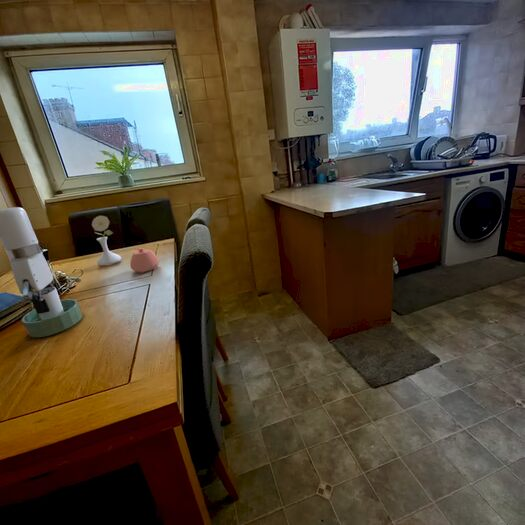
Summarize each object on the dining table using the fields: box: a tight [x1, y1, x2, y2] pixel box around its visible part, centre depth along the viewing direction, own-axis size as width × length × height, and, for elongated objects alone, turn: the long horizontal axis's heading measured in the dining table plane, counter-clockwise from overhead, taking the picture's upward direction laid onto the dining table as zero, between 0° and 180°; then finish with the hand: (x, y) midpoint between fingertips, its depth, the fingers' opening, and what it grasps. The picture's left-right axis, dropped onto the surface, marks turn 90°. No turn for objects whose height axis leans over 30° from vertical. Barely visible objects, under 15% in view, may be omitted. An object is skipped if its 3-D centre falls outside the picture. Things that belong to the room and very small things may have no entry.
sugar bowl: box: [129, 247, 160, 274], centre depth 127 cm, size 12×14×10 cm
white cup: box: [33, 286, 64, 320], centre depth 85 cm, size 7×7×10 cm
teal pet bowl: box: [21, 298, 83, 338], centre depth 87 cm, size 14×14×6 cm
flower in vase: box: [91, 215, 122, 267], centre depth 140 cm, size 13×11×25 cm
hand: (48, 306), depth 85 cm, fingers closed on white cup, 5 cm apart
